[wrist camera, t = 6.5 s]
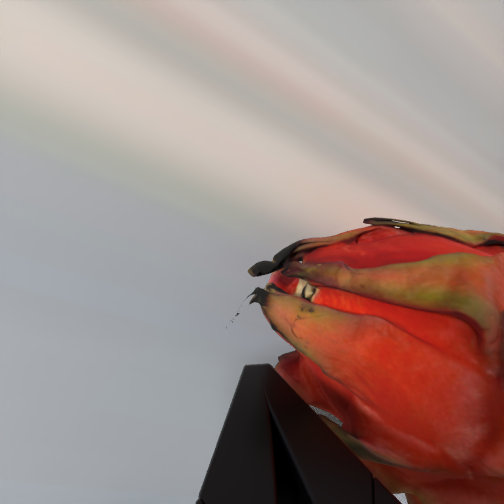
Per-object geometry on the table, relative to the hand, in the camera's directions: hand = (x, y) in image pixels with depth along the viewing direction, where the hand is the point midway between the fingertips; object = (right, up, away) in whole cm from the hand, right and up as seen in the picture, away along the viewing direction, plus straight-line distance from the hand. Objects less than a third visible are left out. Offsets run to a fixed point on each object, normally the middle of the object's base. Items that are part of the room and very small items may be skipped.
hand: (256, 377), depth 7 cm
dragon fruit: (+5, +1, +5) cm, 7 cm away
